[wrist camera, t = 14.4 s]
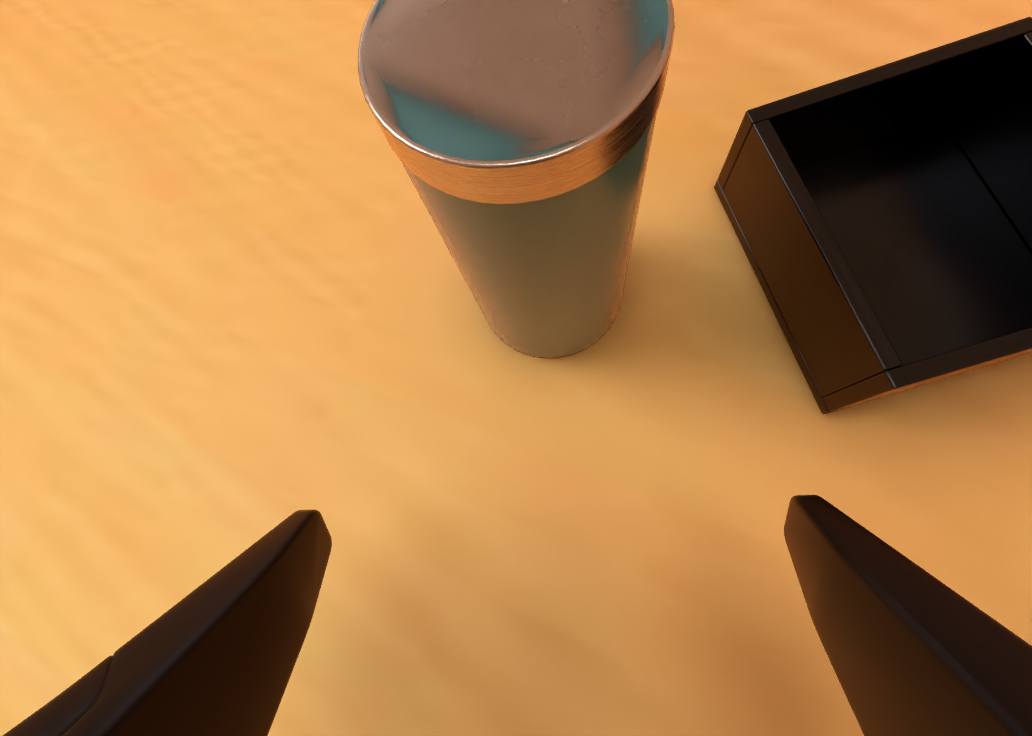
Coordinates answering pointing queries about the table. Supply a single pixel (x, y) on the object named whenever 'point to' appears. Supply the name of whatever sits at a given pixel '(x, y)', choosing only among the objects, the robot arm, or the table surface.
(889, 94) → the tray
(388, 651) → the table surface
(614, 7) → the tin
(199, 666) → the robot arm
